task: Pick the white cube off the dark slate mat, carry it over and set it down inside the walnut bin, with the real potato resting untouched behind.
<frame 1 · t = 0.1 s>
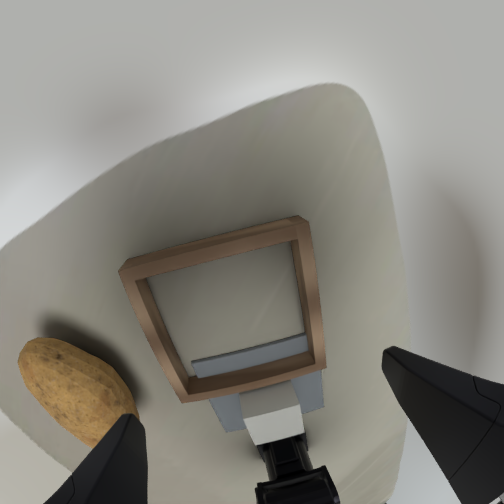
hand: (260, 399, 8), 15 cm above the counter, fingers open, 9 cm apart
white cube: (266, 391, 27), resting on mat
bin: (232, 314, 24), on the counter
mat: (265, 388, 27), on the counter
potato: (92, 367, 24), on the counter
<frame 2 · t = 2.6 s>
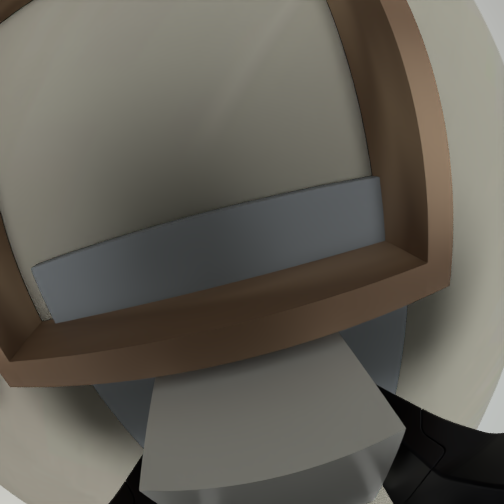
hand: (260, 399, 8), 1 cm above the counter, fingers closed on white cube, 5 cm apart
white cube: (256, 383, 9), resting on mat, touching gripper
bin: (140, 83, 6), on the counter
mat: (254, 375, 9), on the counter
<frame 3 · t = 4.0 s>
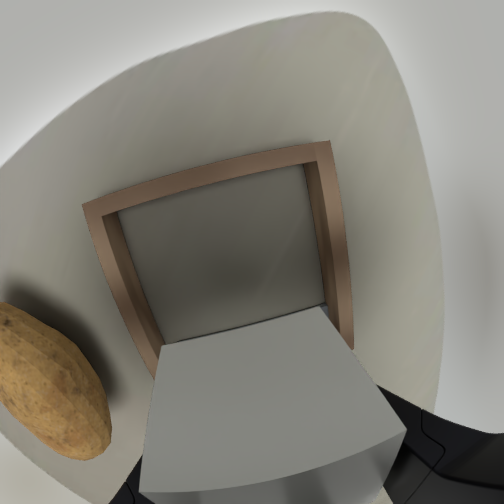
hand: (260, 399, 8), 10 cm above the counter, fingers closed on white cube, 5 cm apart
white cube: (256, 383, 9), point 10 cm above the counter, touching gripper
bin: (230, 274, 18), on the counter
potato: (58, 349, 18), on the counter
when the fingers open (3 cm above the counter, at t = 5.5 s): white cube drops 2 cm, resting in bin.
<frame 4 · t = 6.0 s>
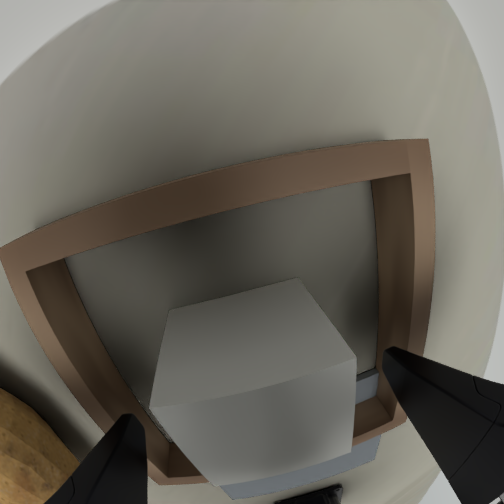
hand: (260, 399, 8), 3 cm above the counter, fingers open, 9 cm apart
white cube: (247, 345, 11), resting in bin
bin: (248, 347, 11), on the counter
mat: (297, 451, 14), on the counter
potato: (25, 410, 11), on the counter
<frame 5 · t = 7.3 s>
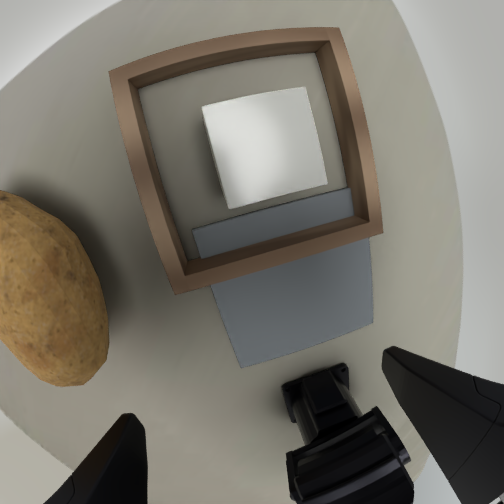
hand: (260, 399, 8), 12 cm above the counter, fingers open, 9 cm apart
white cube: (251, 148, 17), resting in bin
bin: (251, 148, 17), on the counter
mat: (297, 283, 20), on the counter
potato: (55, 260, 17), on the counter
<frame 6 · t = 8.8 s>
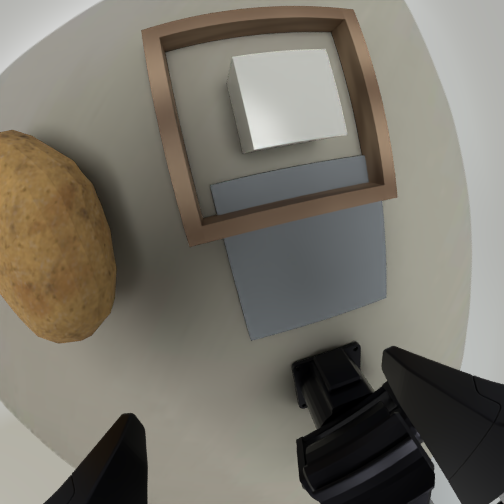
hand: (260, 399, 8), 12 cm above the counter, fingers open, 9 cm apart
white cube: (271, 111, 17), resting in bin
bin: (272, 110, 17), on the counter
mat: (313, 248, 20), on the counter
potato: (64, 216, 17), on the counter
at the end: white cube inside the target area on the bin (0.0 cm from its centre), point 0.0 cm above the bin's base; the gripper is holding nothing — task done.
